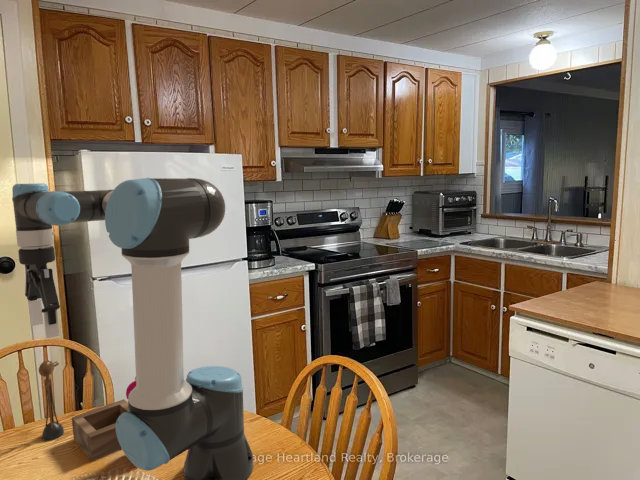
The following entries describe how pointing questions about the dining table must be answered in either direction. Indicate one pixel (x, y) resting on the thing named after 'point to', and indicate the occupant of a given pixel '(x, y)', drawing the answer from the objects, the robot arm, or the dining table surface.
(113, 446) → the box
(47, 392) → the wooden tabletop sculpture
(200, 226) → the robot arm
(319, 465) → the dining table surface
